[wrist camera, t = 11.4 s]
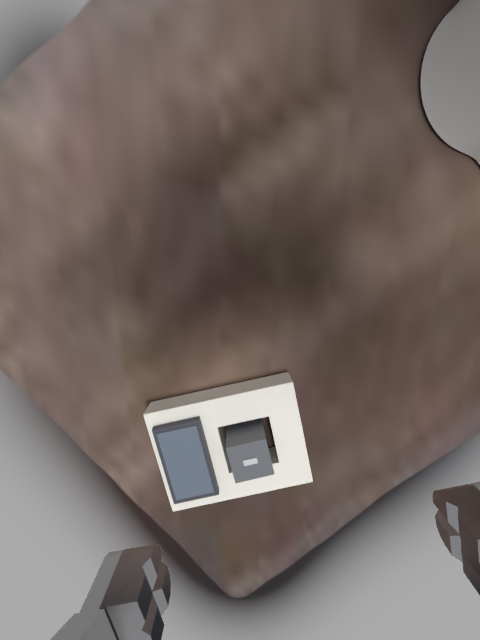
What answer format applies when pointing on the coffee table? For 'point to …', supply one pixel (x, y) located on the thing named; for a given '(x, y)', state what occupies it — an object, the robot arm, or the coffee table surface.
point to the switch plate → (209, 442)
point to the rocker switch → (248, 450)
